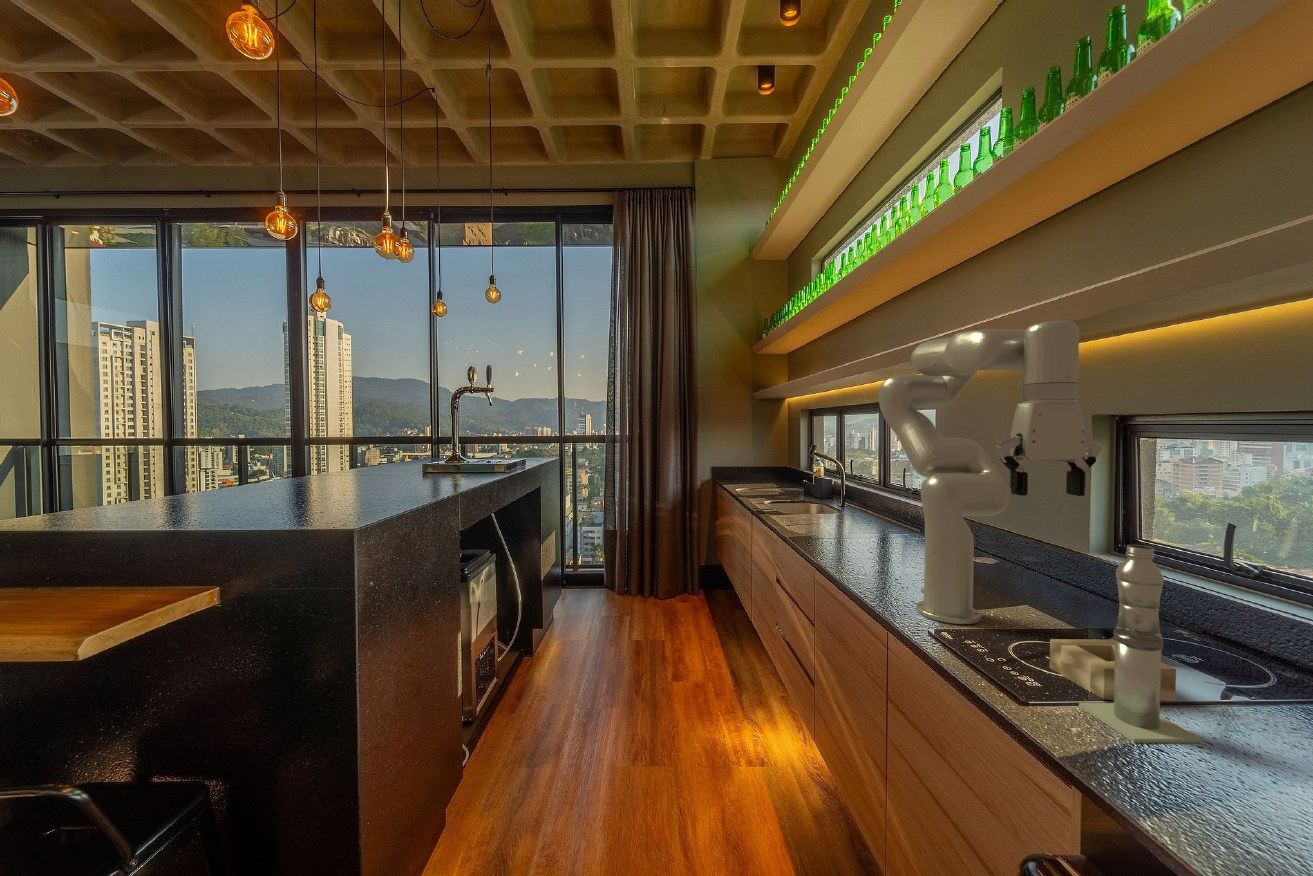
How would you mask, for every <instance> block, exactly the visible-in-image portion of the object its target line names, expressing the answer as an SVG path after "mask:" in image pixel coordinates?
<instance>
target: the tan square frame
mask: <svg viewBox="0 0 1313 876" xmlns="http://www.w3.org/2000/svg"><path fill="white" fill-rule="evenodd" d="M1048 665H1049V666H1048V667H1049V668H1050V669H1051V670H1052V671H1054V672H1056V673H1057V674H1059V675H1060V676H1062V677H1064V678H1066V679H1067V680H1068V681H1070V680H1071V682H1072V683H1073V684H1075V683H1076V686H1078V685H1079V686H1078V687H1080V686H1081V687H1080V688H1082V687H1083V688H1084V690H1085V689H1086V690H1085V691H1087V690H1088V691H1089V692H1088V691H1087V692H1088V693H1090V692H1092V693H1093V694H1096V695H1097V696H1099V697H1101V698H1103V699H1108V700H1109V699H1110V700H1114V672H1115V639H1100V638H1099V639H1095V638H1093V639H1092V638H1091V639H1086V638H1084V639H1082V638H1081V639H1078V638H1075V639H1074V638H1073V639H1072V638H1071V639H1070V638H1069V639H1066V638H1064V639H1063V638H1062V639H1060V638H1058V639H1057V638H1051V639H1050V638H1049V664H1048ZM1176 683H1177V669H1176V668H1175V667H1172V666H1170V665H1168V664H1166V663H1164V662H1162V661H1161V684H1160V700H1161V701H1160V702H1176V689H1177V688H1176V686H1177V685H1176ZM1083 688H1082V689H1083ZM1093 694H1092V695H1093ZM1163 700H1164V701H1163Z"/></svg>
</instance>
